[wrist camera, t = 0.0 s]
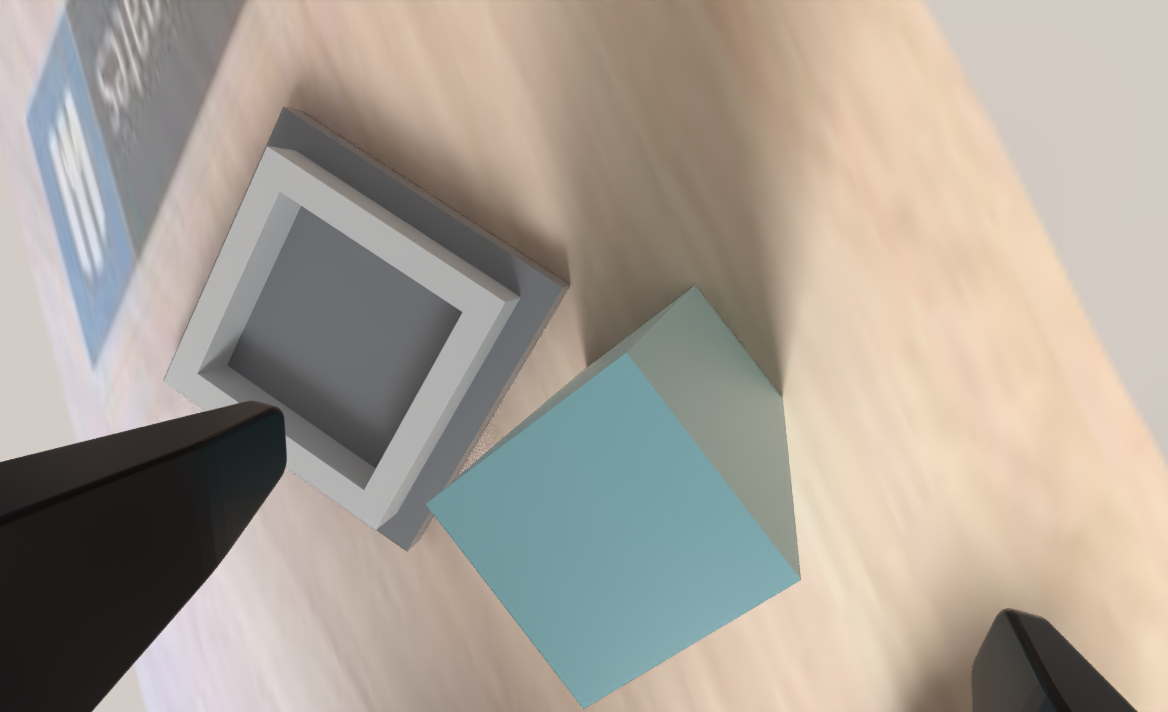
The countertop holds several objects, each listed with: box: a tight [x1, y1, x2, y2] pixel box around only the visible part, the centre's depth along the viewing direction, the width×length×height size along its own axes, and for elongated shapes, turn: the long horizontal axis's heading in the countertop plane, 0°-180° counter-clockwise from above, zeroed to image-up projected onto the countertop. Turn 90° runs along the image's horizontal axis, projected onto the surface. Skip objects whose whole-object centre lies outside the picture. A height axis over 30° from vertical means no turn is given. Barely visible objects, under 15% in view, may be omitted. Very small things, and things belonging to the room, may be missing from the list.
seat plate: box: [164, 107, 570, 551], centre depth 26 cm, size 11×11×2 cm
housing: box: [426, 285, 801, 709], centre depth 19 cm, size 4×4×12 cm
